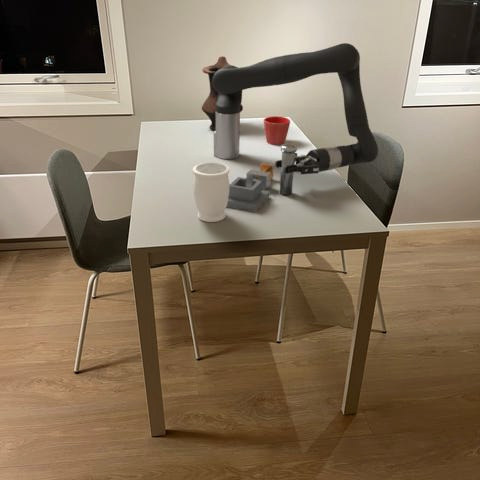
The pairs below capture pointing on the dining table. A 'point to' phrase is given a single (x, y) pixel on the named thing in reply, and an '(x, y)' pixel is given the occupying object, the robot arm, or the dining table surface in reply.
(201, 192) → the jar
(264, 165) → the lock pin
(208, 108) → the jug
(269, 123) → the flower pot
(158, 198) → the dining table surface
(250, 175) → the block
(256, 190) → the socket
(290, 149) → the cylinder
